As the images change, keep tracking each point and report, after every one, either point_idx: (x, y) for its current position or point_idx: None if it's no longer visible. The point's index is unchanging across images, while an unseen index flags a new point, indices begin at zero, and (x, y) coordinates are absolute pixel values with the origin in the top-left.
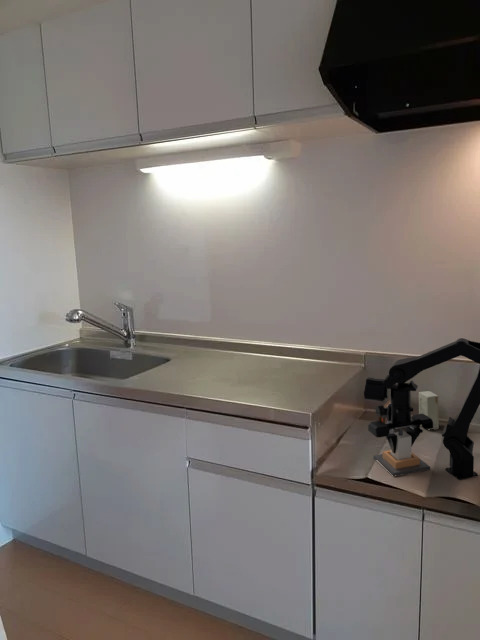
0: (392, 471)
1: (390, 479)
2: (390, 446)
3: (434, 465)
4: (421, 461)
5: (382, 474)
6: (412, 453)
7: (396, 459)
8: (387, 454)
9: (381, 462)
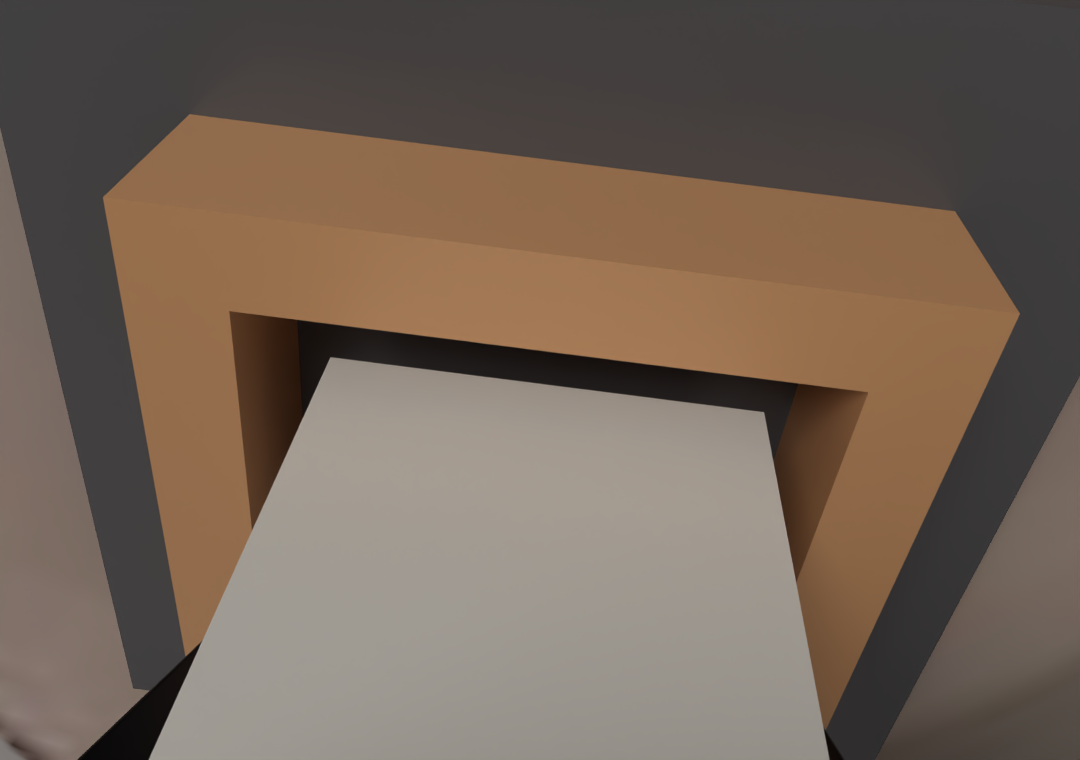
0: (147, 654)
1: (85, 670)
2: (111, 752)
3: (1048, 681)
4: (897, 637)
5: (4, 532)
6: (834, 646)
7: (484, 365)
8: (181, 417)
9: (58, 326)
